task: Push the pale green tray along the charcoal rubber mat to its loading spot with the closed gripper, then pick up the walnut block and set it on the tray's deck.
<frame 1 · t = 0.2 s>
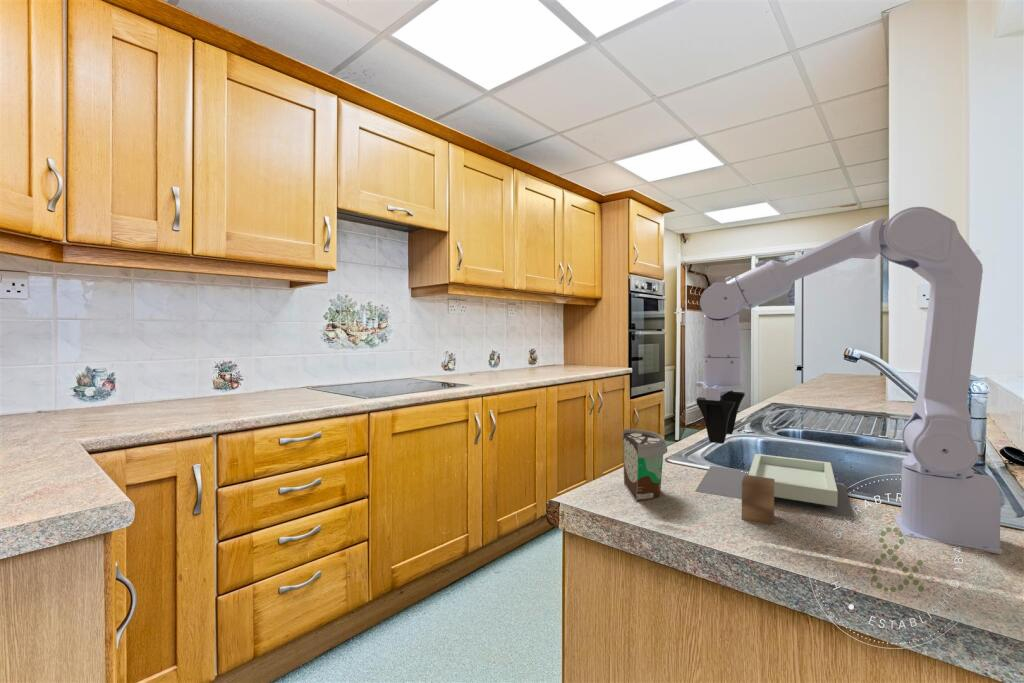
hand: (721, 437, 78), 10 cm above the table, fingers open, 7 cm apart
walnut block: (758, 520, 68), on the table
food container: (647, 494, 80), on the table
pale green tray: (791, 480, 79), point 2 cm above the table, slide at 0.0 cm
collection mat: (770, 490, 81), on the table
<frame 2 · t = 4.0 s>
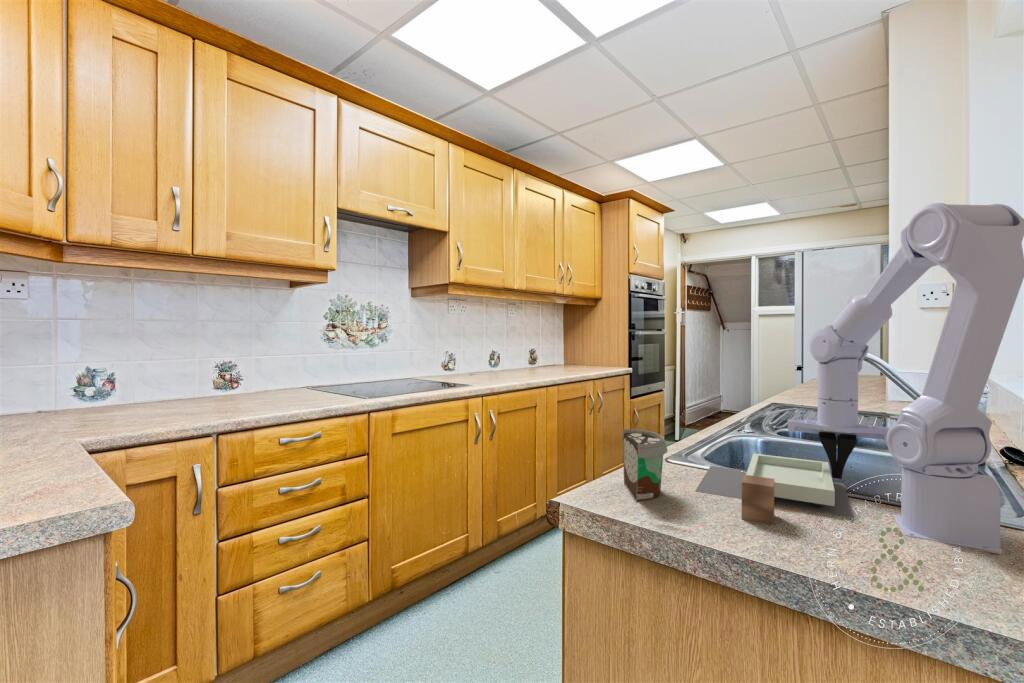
hand: (836, 476, 80), 2 cm above the table, fingers closed
pale green tray: (788, 479, 79), point 2 cm above the table, slide at 0.4 cm, touching gripper
everything else where it was.
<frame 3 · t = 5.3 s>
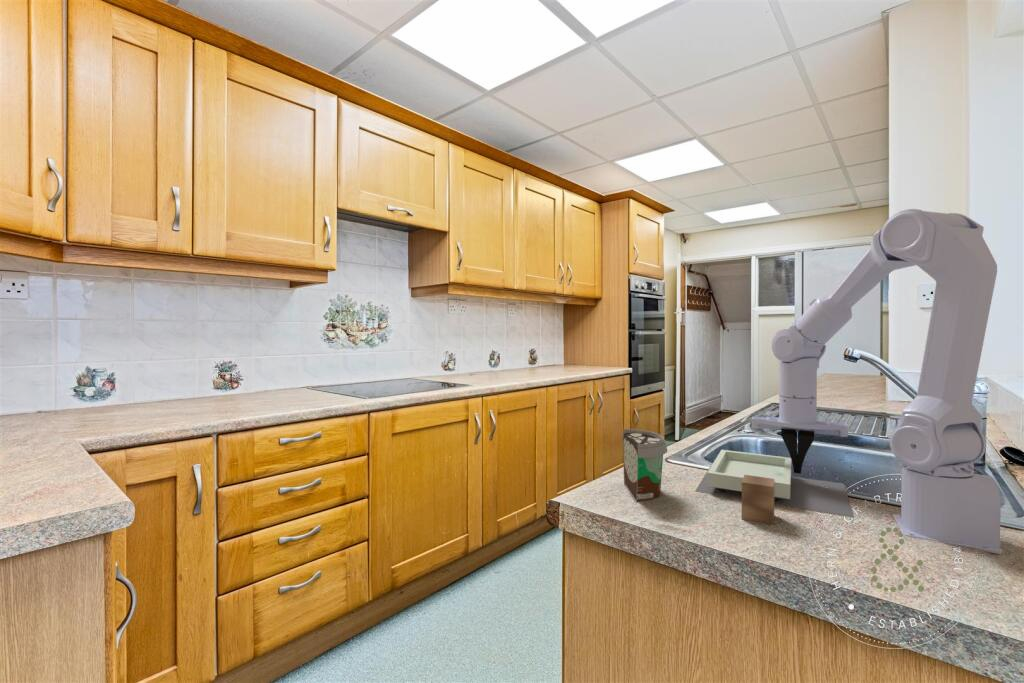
hand: (797, 471, 83), 2 cm above the table, fingers closed
pale green tray: (751, 474, 82), point 2 cm above the table, slide at 6.0 cm, touching gripper
everything else where it was.
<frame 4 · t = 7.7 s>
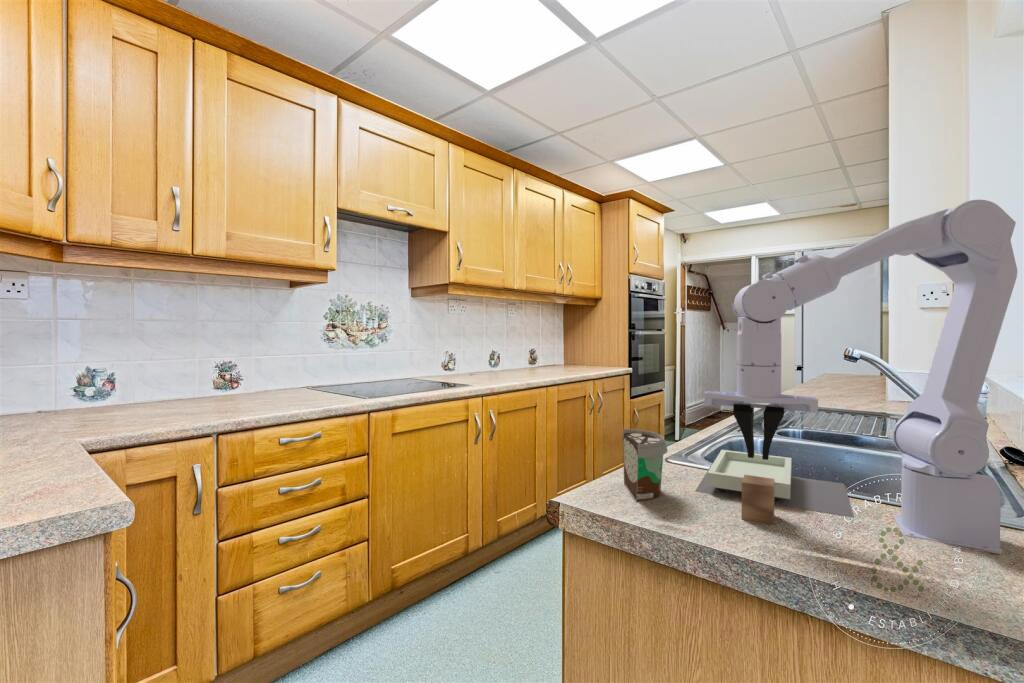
hand: (758, 457, 68), 9 cm above the table, fingers closed
pale green tray: (751, 474, 82), point 2 cm above the table, slide at 6.0 cm
everything else where it was.
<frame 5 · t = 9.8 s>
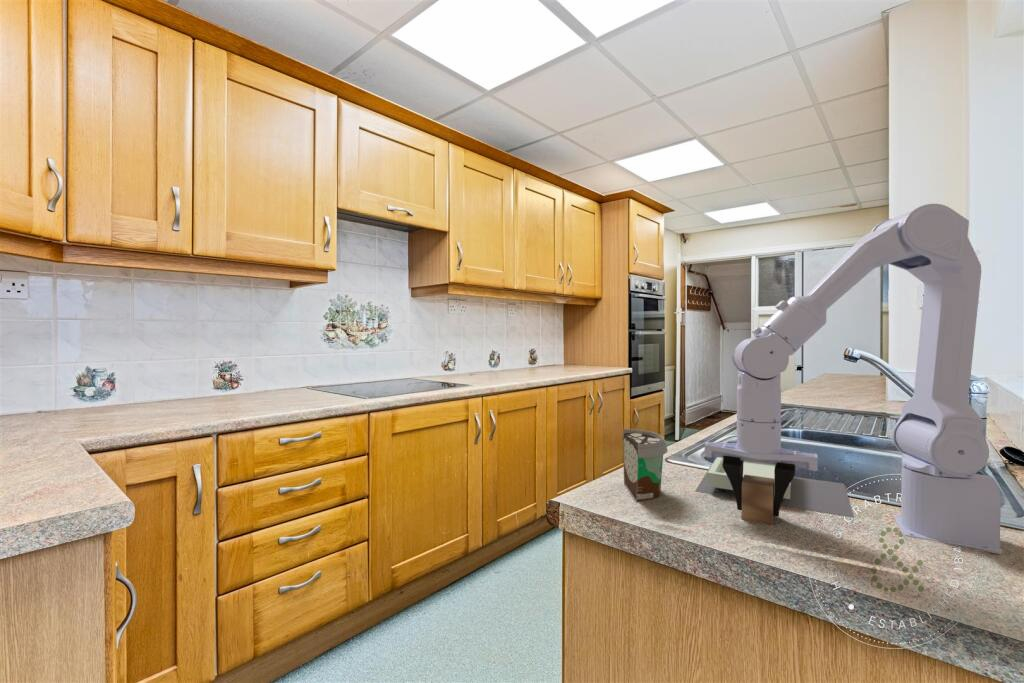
hand: (758, 510, 68), 1 cm above the table, fingers closed on walnut block, 4 cm apart
walnut block: (758, 520, 68), on the table, touching gripper
everything else where it was.
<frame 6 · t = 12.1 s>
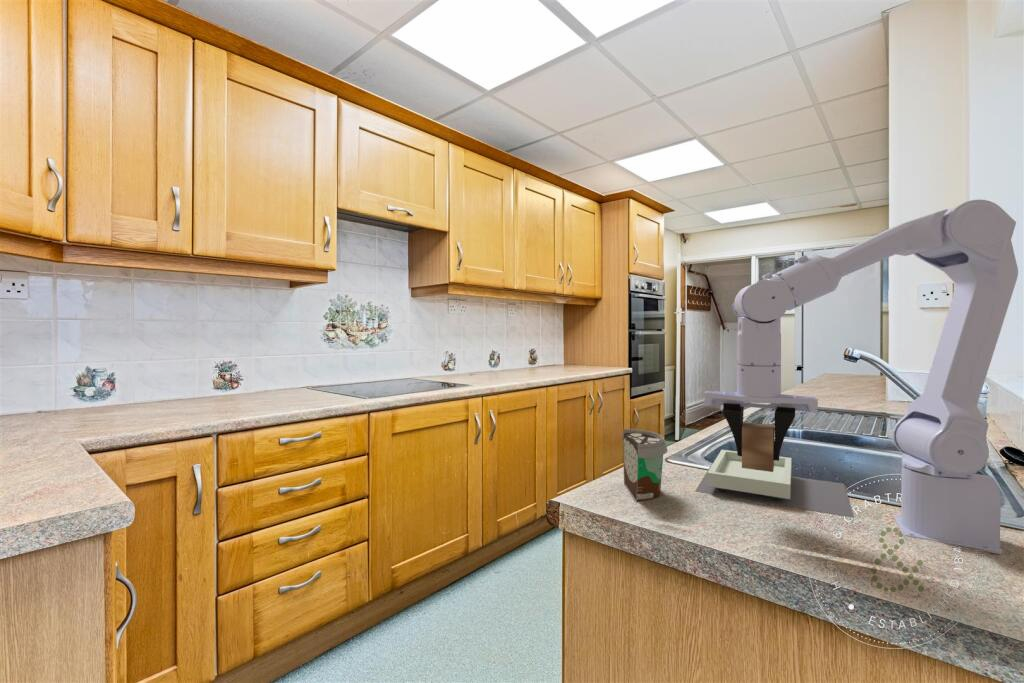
hand: (758, 456, 68), 9 cm above the table, fingers closed on walnut block, 4 cm apart
walnut block: (758, 466, 68), point 8 cm above the table, touching gripper
everything else where it was.
when the fingers open (6 cm above the table, at t = 14.5 s): walnut block drops 2 cm, resting on pale green tray.
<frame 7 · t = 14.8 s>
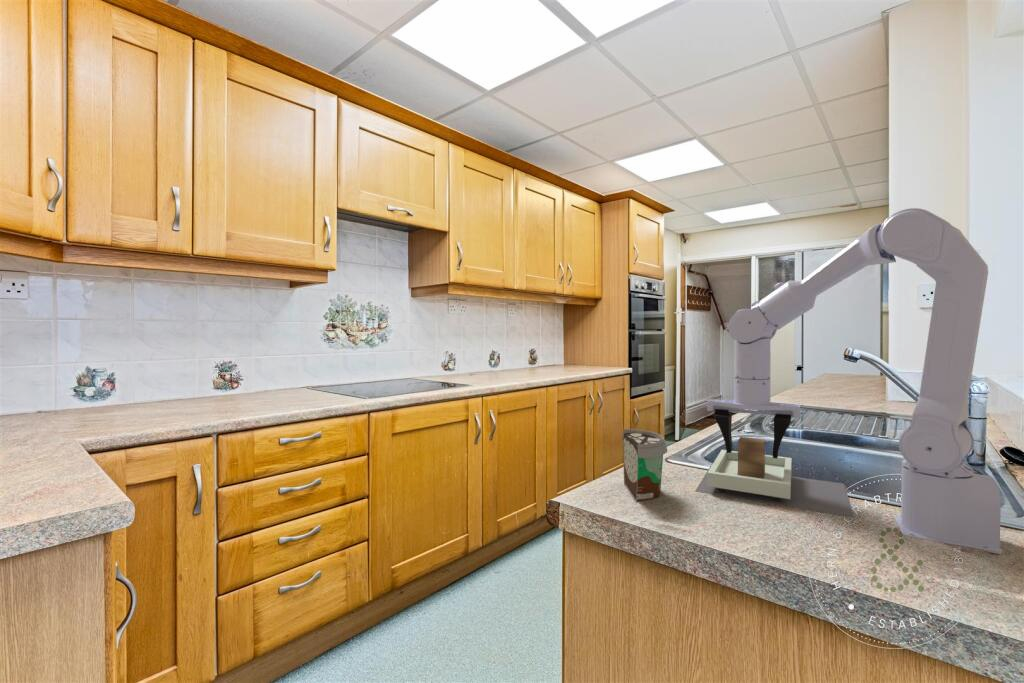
hand: (751, 454, 82), 6 cm above the table, fingers open, 7 cm apart
walnut block: (751, 473, 82), point 2 cm above the table, touching pale green tray
pale green tray: (751, 474, 82), point 2 cm above the table, slide at 6.0 cm, touching walnut block
everything else where it was.
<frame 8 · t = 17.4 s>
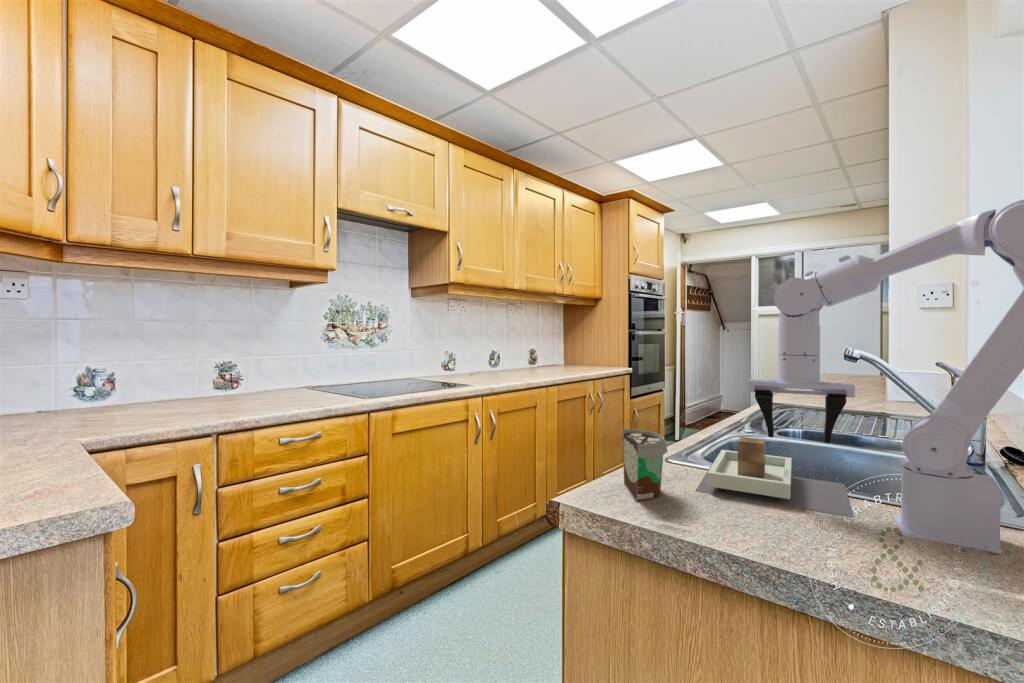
hand: (798, 438, 75), 10 cm above the table, fingers open, 7 cm apart
nothing on the table moved.
at the end: pale green tray slide at 6.0 cm; walnut block inside the target area (0.2 cm from its centre), point 2.5 cm above the table; walnut block tilted 0° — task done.
